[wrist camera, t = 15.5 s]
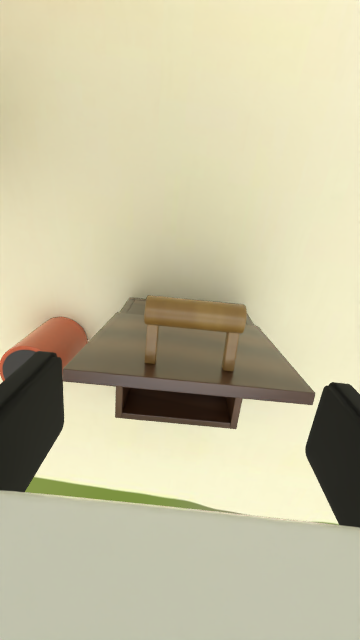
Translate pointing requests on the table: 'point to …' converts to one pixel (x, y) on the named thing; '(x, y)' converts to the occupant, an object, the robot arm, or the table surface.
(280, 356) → the lid
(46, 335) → the tin
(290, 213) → the table surface
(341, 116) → the table surface
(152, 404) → the box
